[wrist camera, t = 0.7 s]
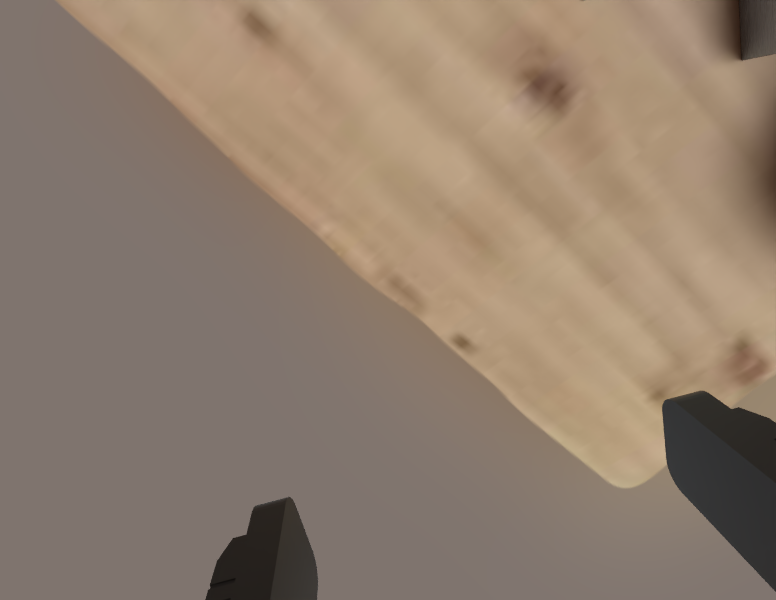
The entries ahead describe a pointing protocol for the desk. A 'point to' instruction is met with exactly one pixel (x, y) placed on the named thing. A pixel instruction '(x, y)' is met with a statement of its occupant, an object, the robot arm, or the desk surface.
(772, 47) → the block
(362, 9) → the desk surface
